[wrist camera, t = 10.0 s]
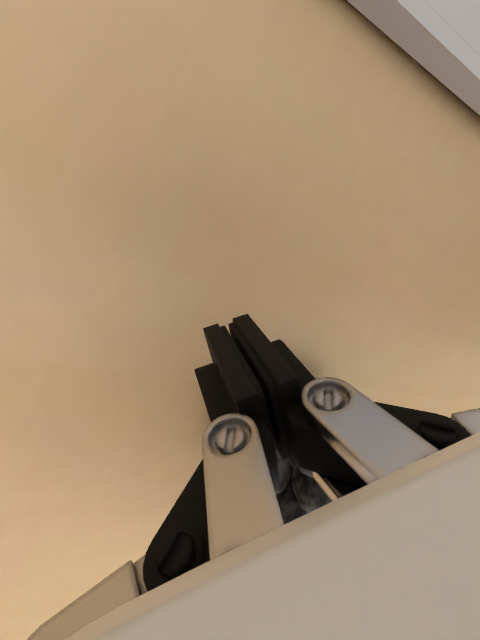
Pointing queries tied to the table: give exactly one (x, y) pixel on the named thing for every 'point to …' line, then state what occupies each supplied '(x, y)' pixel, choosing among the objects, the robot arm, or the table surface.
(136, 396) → the table surface
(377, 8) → the envelope
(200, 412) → the table surface
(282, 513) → the fruit
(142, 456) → the table surface
